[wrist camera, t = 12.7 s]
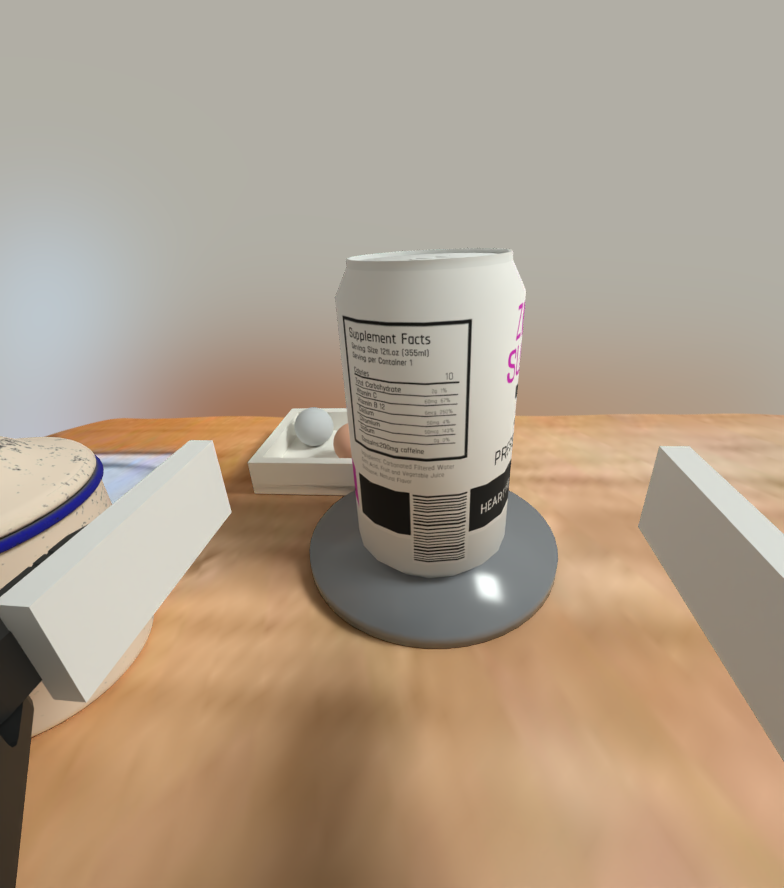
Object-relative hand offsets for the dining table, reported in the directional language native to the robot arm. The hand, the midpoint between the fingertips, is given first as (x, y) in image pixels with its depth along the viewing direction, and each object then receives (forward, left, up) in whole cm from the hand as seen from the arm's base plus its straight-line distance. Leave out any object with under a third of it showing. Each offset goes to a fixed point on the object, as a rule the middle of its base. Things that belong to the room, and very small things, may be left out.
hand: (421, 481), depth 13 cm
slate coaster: (0, -9, -10) cm, 13 cm away
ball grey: (+10, -20, -7) cm, 24 cm away
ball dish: (+8, -19, -10) cm, 23 cm away
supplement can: (0, -9, -9) cm, 13 cm away
